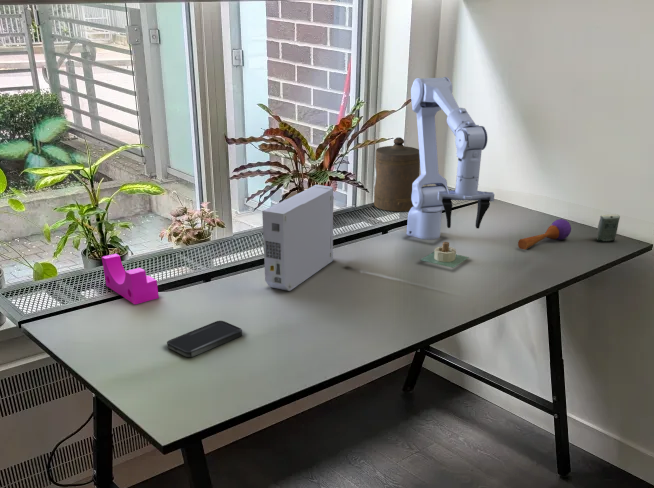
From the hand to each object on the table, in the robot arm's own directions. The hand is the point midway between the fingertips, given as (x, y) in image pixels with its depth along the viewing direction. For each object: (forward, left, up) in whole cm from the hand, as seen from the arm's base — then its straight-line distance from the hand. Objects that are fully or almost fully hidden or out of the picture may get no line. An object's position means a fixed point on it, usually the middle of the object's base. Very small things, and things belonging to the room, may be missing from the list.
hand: (462, 227), depth 195 cm
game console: (-29, -33, -10) cm, 45 cm away
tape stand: (-3, -3, -10) cm, 10 cm away
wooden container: (-41, +37, -10) cm, 56 cm away
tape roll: (-3, -3, -8) cm, 10 cm away
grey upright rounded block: (+28, +41, -10) cm, 50 cm away
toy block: (-56, -66, -10) cm, 87 cm away
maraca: (+14, +28, -10) cm, 33 cm away
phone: (-23, -76, -10) cm, 80 cm away
